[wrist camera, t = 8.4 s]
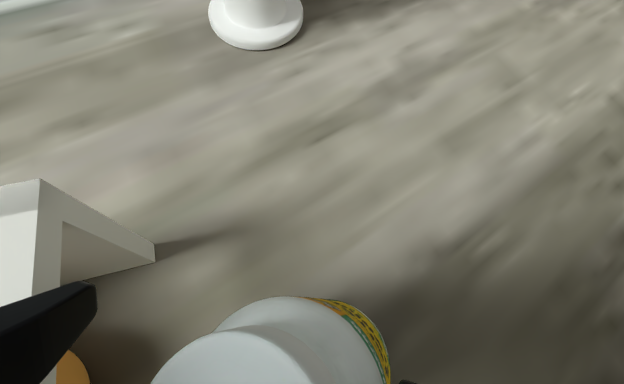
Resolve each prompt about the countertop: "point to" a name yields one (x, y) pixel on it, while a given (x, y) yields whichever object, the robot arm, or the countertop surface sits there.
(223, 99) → the countertop surface
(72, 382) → the ball
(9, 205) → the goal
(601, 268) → the countertop surface
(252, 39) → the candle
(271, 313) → the supplement bottle
